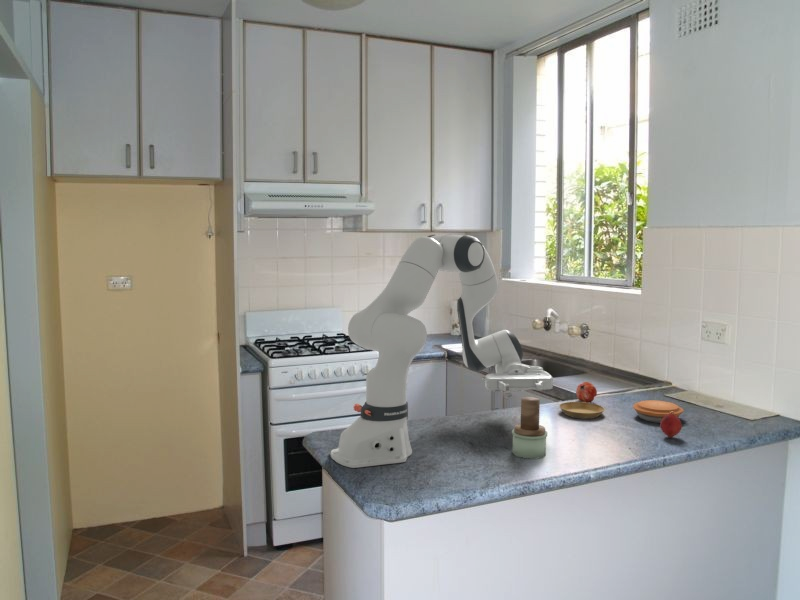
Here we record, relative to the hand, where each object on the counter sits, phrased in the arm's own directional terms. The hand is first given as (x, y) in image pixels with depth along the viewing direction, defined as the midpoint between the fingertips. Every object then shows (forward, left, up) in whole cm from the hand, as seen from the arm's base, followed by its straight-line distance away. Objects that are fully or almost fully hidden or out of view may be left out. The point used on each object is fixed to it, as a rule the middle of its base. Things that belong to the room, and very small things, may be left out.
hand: (522, 387), depth 197 cm
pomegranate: (+49, +22, -16) cm, 56 cm away
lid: (-6, -11, -9) cm, 16 cm away
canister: (-6, -11, -15) cm, 20 cm away
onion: (+40, -21, -16) cm, 47 cm away
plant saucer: (+36, +11, -16) cm, 41 cm away
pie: (+54, -5, -16) cm, 56 cm away
